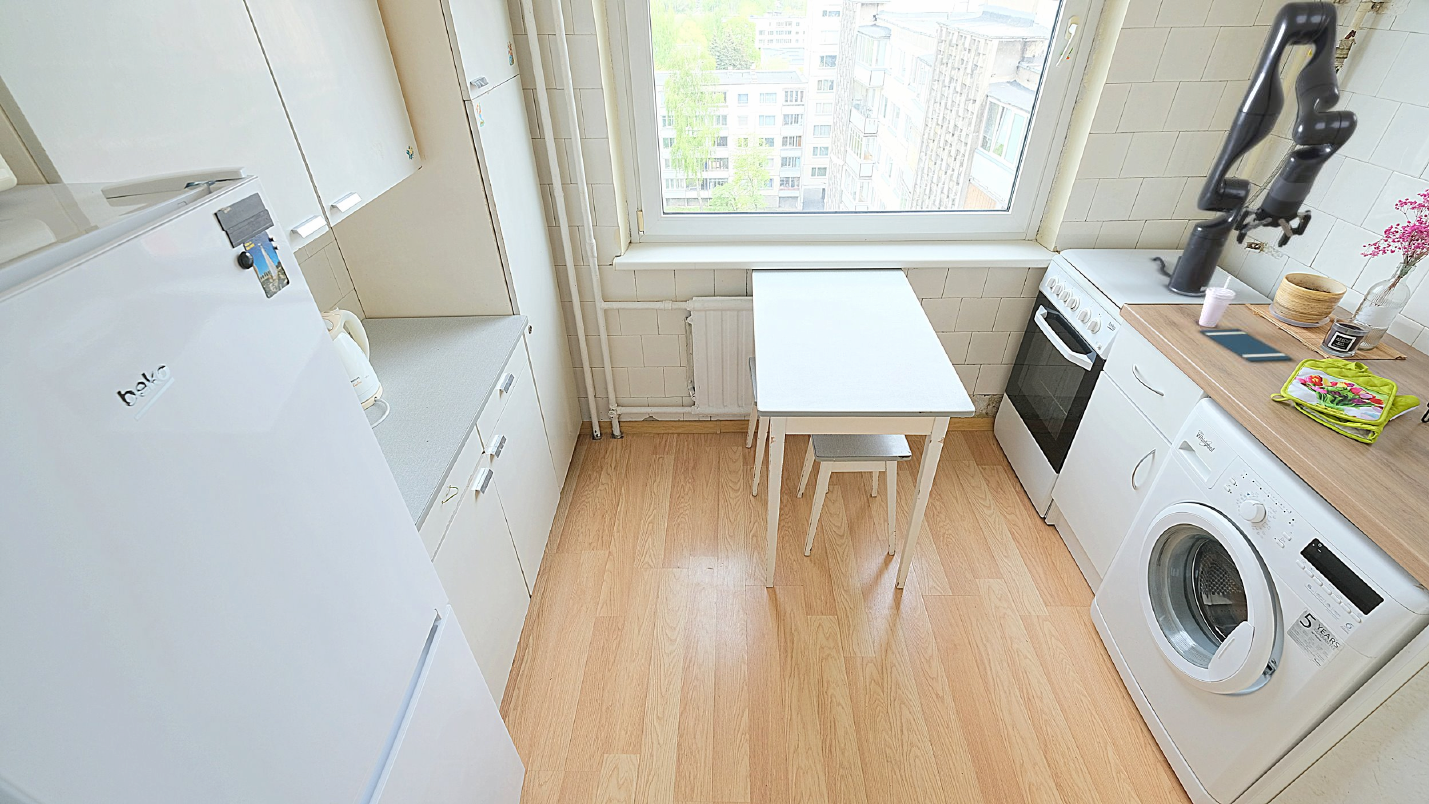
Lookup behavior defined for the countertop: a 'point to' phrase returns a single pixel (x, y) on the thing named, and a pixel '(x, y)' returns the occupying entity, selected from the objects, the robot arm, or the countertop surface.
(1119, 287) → the countertop surface
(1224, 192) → the robot arm
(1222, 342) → the tea towel
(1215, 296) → the smoothie
